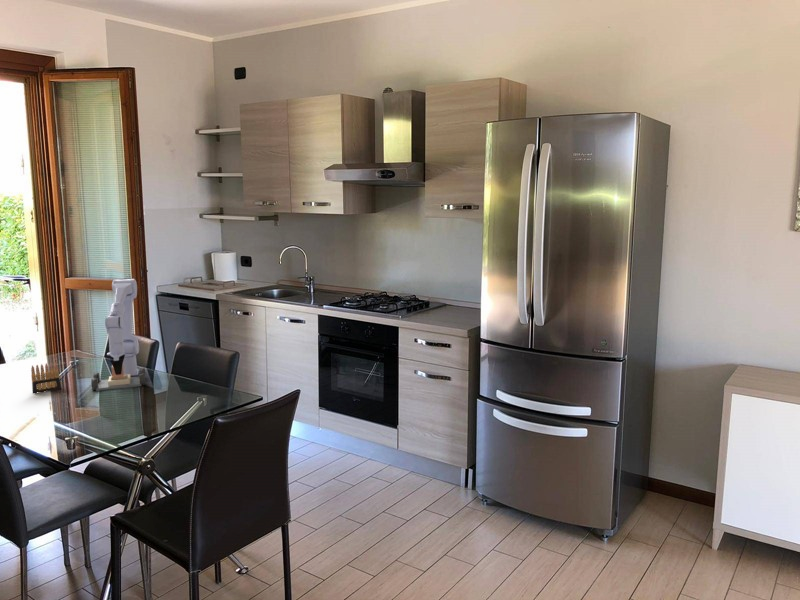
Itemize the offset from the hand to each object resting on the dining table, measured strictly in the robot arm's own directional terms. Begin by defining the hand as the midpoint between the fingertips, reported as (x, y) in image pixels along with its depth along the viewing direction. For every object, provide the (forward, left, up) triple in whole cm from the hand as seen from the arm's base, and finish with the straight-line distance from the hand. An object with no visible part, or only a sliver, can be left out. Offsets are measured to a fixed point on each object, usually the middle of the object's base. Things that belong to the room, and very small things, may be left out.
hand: (118, 372), depth 291 cm
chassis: (0, 0, -5) cm, 5 cm away
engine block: (0, 0, -2) cm, 2 cm away
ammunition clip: (-2, -29, -6) cm, 30 cm away
